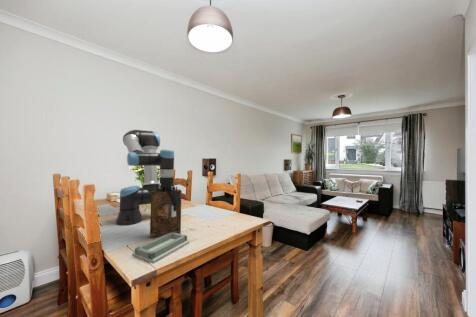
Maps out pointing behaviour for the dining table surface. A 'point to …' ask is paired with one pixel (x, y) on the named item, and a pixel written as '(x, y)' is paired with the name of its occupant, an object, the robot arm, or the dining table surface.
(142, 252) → the tray
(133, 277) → the dining table surface
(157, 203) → the book
